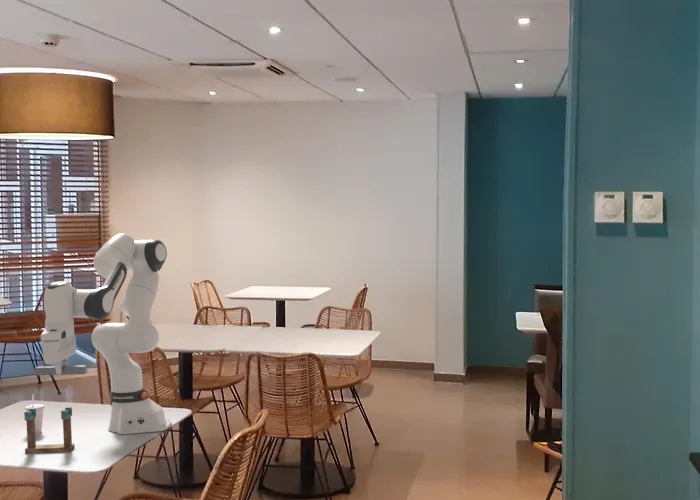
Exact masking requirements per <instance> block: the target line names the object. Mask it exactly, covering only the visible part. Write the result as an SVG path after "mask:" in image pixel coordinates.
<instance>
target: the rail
mask: <svg viewBox="0 0 700 500" xmlns="http://www.w3.org/2000/svg"><path fill="white" fill-rule="evenodd" d="M62 368H63V373H62V374H59V375H57V374H56V369H55V367H54V365H49V366H48V365H43V366H42V365H40V366H36V367H34V371H35V372H34V373H35V375H34V376H61V375H62V376H65V375H66V376H68V375H72V376H73V375H86V374H87V373H88V365H87V364H80V365H67V366H62Z"/></svg>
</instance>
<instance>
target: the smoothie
mask: <svg viewBox="0 0 700 500" xmlns="http://www.w3.org/2000/svg"><path fill="white" fill-rule="evenodd" d="M34 400H35V397H34V394H33V393H32V394H31V404H29V405H26V406H25V408H24V409H25V412H29V409H30V408H36V417H35V435H37V434H40V433H42V431H43V430H42V428H43V418H44V409H45V405H44V404H43V403H36V404H35V401H34Z"/></svg>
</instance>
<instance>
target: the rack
mask: <svg viewBox="0 0 700 500" xmlns="http://www.w3.org/2000/svg"><path fill="white" fill-rule="evenodd" d="M23 413H24V421H26V438H27V439H26V441H27V443H26V444H27V447H26V448H25V449H24V453H25V454H43V453H48V454H49V453H51V454H52V453H71V452H72V451H73V450H75V443H73V439H72V416H73V407H72V406H67V407H66V406H65V408H64V410H60V418H61V420H62V428H63V430H62V431H63V432H62V433H63V435H62V436H63V443H61V444H60V443H57V444H55V443H54V444H37V443H36V442H37V441H36V439H37V438H36V434H35V417H36V408H30V409H29V412H27V411H24V412H23Z"/></svg>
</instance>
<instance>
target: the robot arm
mask: <svg viewBox="0 0 700 500" xmlns="http://www.w3.org/2000/svg"><path fill="white" fill-rule="evenodd" d="M95 253H96V254H95V255H94V257H93V266H94V269H95V271H96V272H97V274H98V275H100V276H101V277H102V278H103V279H105V281H104V282H103V284H102V286H101V287H99V288H95V289H81V288H79V289H78V288H76V287H74V286H72V285H71V283H70V282H69V281H68V280H67V281H66V280H59V281H53V282H51V283H48V284H47V285H46V287H45V290H44V296H43V297H44V299H43V303H44V304H43V305H44V307H43V308H44V313H45V321H44V329H43V330H42V333H41V334H40V341H43V342H42V345H41V346H42V347H41V349H42V358H43V362H44V364H45V365H53V366H54V367H55V369H56V374H57V375H56V376H60V375H59V374H62V373H63V368H62V366H68V363H69V357H71V356H73V355H75V354H76V352H77V343H76V335H75V323H74V318H76V319H92V320H104V319H106V318H107V317H108V316H109V315H110V314H111V312H112V310H113V308H114V303H115V300H116V298H117V297H118V295H119V292H120V290H121V288H122V286H123V285H124V283H125V280H126V278H127V274H128V270H132V277H131V278H130V280H129V283H128V285H127V286H126V287H127V288H126V291H125V292H124V296H123V298H122V300H121V304H120V307H121V311H122V313H123V314H124V315H125V316H127V317H128V320H127V321H126V322H107V323H102V324H98V325H96V326H95V327H94V328H93V331H92V333H91V343H92V346H93V347H94V349H95V350H97V351H98V352H99V353H100V354H101V356H103V358H104V359H105V361H106V363H107V367H108V369H109V374H110V375H109V377H110V385H111V386H110V389H111V390H110V391H109V393H110V394H109V403H110V406H111V408H110V409H111V410H110V420H109V425H108V427H107V430H108V431H110V432H113V433H116V434H118V435H132V434H142V433H144V434H145V433H154V432H155V433H157V432H162V431H165V430H167V429H169V428H170V427H171V425H172V421H171V419H170V418H166V417H165V410H164V407H162V406H161V405H159V404H158V403H156V402H155V401H153V400H152V399H150V398H149V389H148V388H147V389H145V388H143V371H142V368H141V365H140V364H139V363H137V362H136V361H134V360H133V359H132V358H131V355H130V354H143V353H149V352H152V351H154V350H155V349H156V348H157V346H158V344H159V340H160V336H159V335H160V334H159V332H158V329H157V328H156V326H154V325H153V323H152V322H151V321H152V320H151V311H152V308H153V305H154V301H155V299H156V296H157V292H158V287H159V283H160V282H159V279H160V275H159V273H158V272H159V271H160V270H161V269H162V268H163V265H164V264H165V262H166V259H167V257H168V255H167V254H168V252H167V248H166V246H165V244H164V243H163V242H162V241H161V240H159V239H154V238H153V239H137V240H134V238H133V237H132V236H130V235H129V234H128V233H123V232H122V233H117V234H114V235H113V236H111V238H109V240H107V241H106V242H105V243H104V244H103V245H102V247H100V249H99V250H98V251H97V252H95Z"/></svg>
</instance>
